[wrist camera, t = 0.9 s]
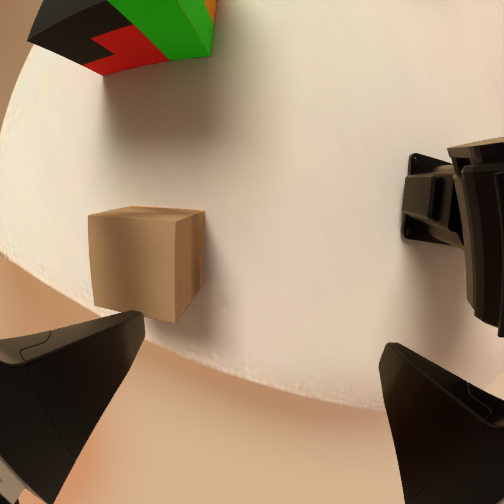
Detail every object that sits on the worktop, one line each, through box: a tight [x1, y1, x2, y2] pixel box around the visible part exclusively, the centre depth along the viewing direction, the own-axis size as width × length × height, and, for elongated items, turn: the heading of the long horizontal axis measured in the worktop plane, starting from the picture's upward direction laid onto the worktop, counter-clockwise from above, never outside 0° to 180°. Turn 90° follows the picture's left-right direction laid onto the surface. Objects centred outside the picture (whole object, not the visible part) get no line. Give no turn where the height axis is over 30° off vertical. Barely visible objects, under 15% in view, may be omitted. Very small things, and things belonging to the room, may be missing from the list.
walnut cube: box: [88, 206, 204, 323], centre depth 18 cm, size 6×6×6 cm
